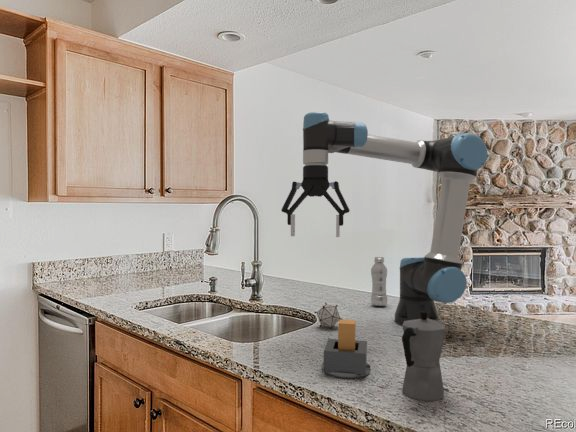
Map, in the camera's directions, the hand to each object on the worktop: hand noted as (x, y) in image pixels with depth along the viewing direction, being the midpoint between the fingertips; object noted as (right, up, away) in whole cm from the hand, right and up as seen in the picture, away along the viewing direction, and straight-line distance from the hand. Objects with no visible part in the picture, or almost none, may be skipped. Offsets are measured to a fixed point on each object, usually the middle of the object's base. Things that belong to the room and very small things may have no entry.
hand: (315, 236), depth 133 cm
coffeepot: (+21, -33, -36) cm, 53 cm away
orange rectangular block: (+7, -31, -22) cm, 39 cm away
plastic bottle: (+29, -31, +49) cm, 65 cm away
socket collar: (+6, -32, -22) cm, 40 cm away
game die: (+6, -32, +17) cm, 36 cm away
